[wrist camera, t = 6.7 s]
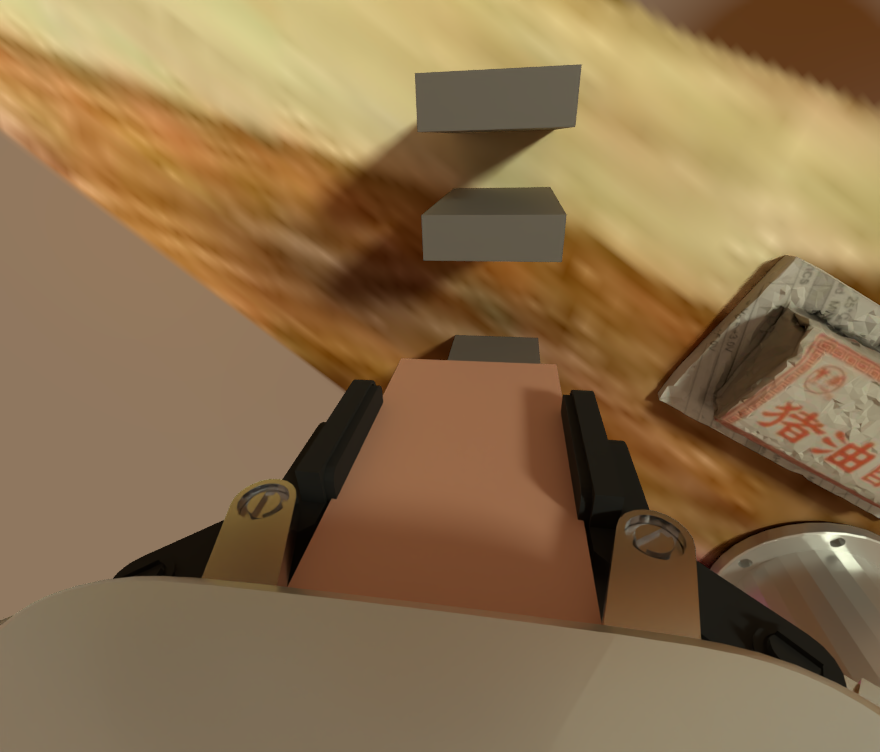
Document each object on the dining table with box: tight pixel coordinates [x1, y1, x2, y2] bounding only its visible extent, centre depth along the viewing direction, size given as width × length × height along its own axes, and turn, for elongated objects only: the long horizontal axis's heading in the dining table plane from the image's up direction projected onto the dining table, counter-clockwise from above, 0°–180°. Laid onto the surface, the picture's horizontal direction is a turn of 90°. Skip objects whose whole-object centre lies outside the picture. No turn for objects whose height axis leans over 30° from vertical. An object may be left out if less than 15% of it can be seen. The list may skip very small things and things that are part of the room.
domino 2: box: [421, 187, 566, 262], centre depth 20 cm, size 2×5×9 cm, turn 92°
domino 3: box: [448, 335, 540, 364], centre depth 24 cm, size 2×5×9 cm, turn 92°
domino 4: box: [288, 358, 602, 625], centre depth 11 cm, size 2×5×9 cm, turn 92°
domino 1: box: [415, 65, 581, 133], centre depth 18 cm, size 2×5×9 cm, turn 91°
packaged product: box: [658, 255, 880, 518], centre depth 24 cm, size 18×5×10 cm
